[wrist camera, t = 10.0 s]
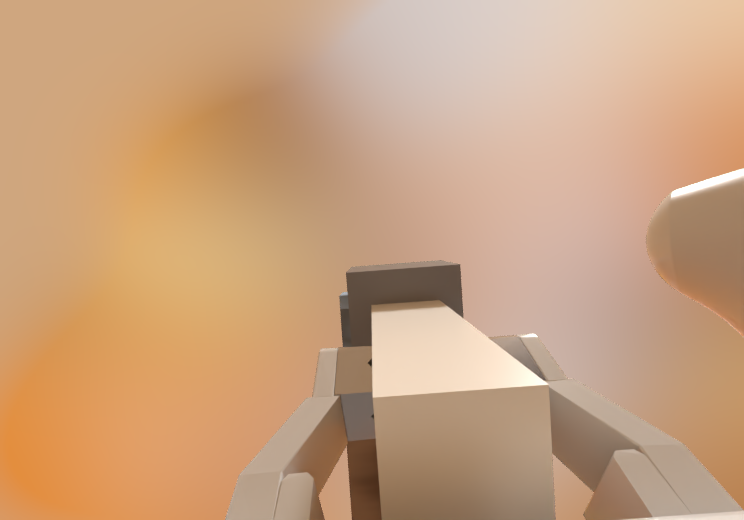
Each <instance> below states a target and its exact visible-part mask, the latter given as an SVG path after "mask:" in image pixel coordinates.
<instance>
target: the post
mask: <svg viewBox="0 0 744 520" xmlns="http://www.w3.org/2000/svg"><path fill="white" fill-rule="evenodd" d="M340 311H341V325H342V340H343V347H352V343H351V330H350V317H349V304H348V292H343V293H342V294H341V295H340ZM347 442H348V444H347V454H348V468H349V482H350V497H351V511H352V520H382V516H381V503H380V489H379V476H378V463H377V449H376V439H366V440H356V441H347Z"/></svg>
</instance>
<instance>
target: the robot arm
mask: <svg viewBox="0 0 744 520" xmlns="http://www.w3.org/2000/svg"><path fill="white" fill-rule="evenodd" d="M646 244H647V252H648V255H649V258H650V261H651V263H652V265H653V267H654V268H655V270H656V271H657V273H658V274H659V275H660V277H661V278H662V279H663V280H664V281H665V282H666V283H667V284H669V285H670V286H671V287H672V288H673V289H675V290H676V291H678V292H679V293H681V294H683V295H685V296H686V297H688V298H691V299H692V300H694V301H696V302H698V303H700V304H701V305H703V306H705V307H706V308H708V309H710V310H711V311H712V312H714V313H715V314H717V315H718V316H719V317H721V318H722V319H724V320H725V321H726V322H727V323H728V324H730V325H731V326H732V327H733V328H734V329H735V330H737V331H738V332H739V333H740V334H741V335H742V336H743V337H744V168H743V169H740V170H737V171H733V172H730V173H727V174H724V175H720V176H717V177H714V178H710V179H708V180H705V181H701V182H698V183H695V184H692V185H689V186H686V187H683V188H680V189H678V190H675V191H673V192H671V193H670V194H669V195H668V196H667V197H666V198H665V199H664V200H663V201H662V202H661V204H660V205H659V206H658V208H657V209H656V211H655V212H654V214H653V216H652V218H651V220H650V223H649V226H648V229H647V235H646ZM488 338H489V339H490V340H492V341H493V342H494V343H496V344H497V345H498V346H500V347H501V348H502V349H503V350H505V351H506V352H507V353H509V354H510V355H511V356H512V357H514V358H515V359H516V360H518V361H519V362H520V363H521V364H523V365H524V366H525V367H527V368H528V369H529V370H531V371H532V372H533V373H534V374H536V375H537V376H538V377H540V378H541V379H542V380H543V381H545V382H546V383H547V384H549V400H550V419H551V439H552V453H553V454H554V455H555V456H556V457H557V458H558V459H559V460H560V461H561V462H562V463H563V464H564V465H566V467H568V468H569V469H570V470H571V471H572V472H573V473H574V474H575V475H576V476H577V477H578V478H579V479H580V480H581V481H583V482H584V483H585V484H586V485H587V486H588V487H589V488H590V489H591V490H592V491H593V492H594V493H593V495H592V497H591V499H590V501H589V503H588V505H587V507H586V509H585V512H584V514H583V515H584V517H585V519H586V520H744V510H743V509H742V508H741V507H740V506H739V505H738V504H737V503H736V502H735V500H734V499H733V498H732V497H731V496H730V495H729V494H728V493H727V491H725V489H724V488H723V487H722V486H721V485H720V484H719V482H718V481H717V480H716V479H715V478H714V477H713V476H712V475H711V474H710V472H709V471H708V470H707V469H706V468H705V467H704V466H703V465H702V464H701V463H700V461H699V460H698V459H697V458H696V457H695V456H694V455H693V454H692V452H690V450H689V449H688V448H687V447H686V446H685V445H684V444H683V443H681V442H679V441H678V440H676V439H674V438H673V437H671V436H669V435H668V434H666V433H664V432H663V431H661V430H659V429H657V428H656V427H654V426H653V425H651V424H649V423H648V422H646V421H644V420H642V419H641V418H639V417H638V416H636V415H634V414H633V413H631V412H629V411H627V410H626V409H624V408H622V407H621V406H619V405H617V404H616V403H614V402H612V401H610V400H609V399H607V398H606V397H604V396H602V395H600V394H599V393H597V392H596V391H594V390H592V389H590V388H589V387H587V386H585V385H584V384H582V383H580V382H579V381H577V380H575V379H568V378H567V377H566V375H565V374H564V372H563V371H562V370H561V368H560V367H559V365H558V364H557V363H556V361H555V360H554V358H553V357H552V356H551V354H550V353H549V351H548V350H547V349H546V347H545V346H544V344H543V343H542V342H541V340H540V339H539V337H538V336H536V335H535V334H522V335H515V336H514V335H512V336H499V337H488ZM366 439H376V436H375V422H374V409H373V387H372V346H360V347H340V348H326V349H321V350H320V352H319V356H318V363H317V369H316V376H315V382H314V389H313V395H312V397H309V398H306V399H305V400H304V401H303V403H302V404H301V405H300V406H299V407H298V408H297V409H296V411H295V412H294V413H293V414H292V415H291V416H290V417H289V419H288V420H287V421H286V422H285V423H284V425H282V427H281V428H280V429H279V430H278V431H277V432H276V433H275V435H274V436H273V437H272V438H271V439H270V440H269V442H268V443H267V444H266V445H265V446H264V447H263V448H262V450H261V451H260V452H259V453H258V454H257V455H256V456H255V457H254V459H253V460H252V461H251V462H250V463H249V464H248V466H247V467H246V468H245V469H244V470H243V471H242V472H241V473H240V475H239V477H238V480H237V483H236V486H235V490H234V493H233V496H232V499H231V502H230V506H229V509H228V512H227V515H226V519H225V520H325V519H324V515H323V512H322V508H321V504H320V500H319V497H318V496H319V494H320V492H321V490H322V489H323V487H324V485H325V483H326V481H327V479H328V478H329V476H330V474H331V473H332V471H333V469H334V467H335V465H336V464H337V462H338V460H339V458H340V456H341V455H342V453H343V451H344V449H345V448H346V446H347V444H348V442H347V441H356V440H366Z"/></svg>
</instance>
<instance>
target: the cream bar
mask: <svg viewBox="0 0 744 520" xmlns="http://www.w3.org/2000/svg"><path fill="white" fill-rule="evenodd" d="M346 277H347V291H348V304H349V317H350V330H351V343H352V347H360V346H372V387H373V409H374V422H375V436H376V449H377V463H378V476H379V489H380V503H381V516H382V520H556V517H555V497H554V478H553V459H552V439H551V419H550V400H549V384H547V383H546V382H545V381H543V380H542V379H541V378H540V377H538V376H537V375H536V374H534V373H533V372H532V371H531V370H529V369H528V368H527V367H525V366H524V365H523V364H521V363H520V362H519V361H518V360H516V359H515V358H514V357H512V356H511V355H510V354H509V353H507V352H506V351H505V350H503V349H502V348H501V347H500V346H498V345H497V344H496V343H494V342H493V341H492V340H490V339H489V338H488V337H487V336H485V335H484V334H483V333H481V332H480V331H479V330H478V329H476V328H475V327H474V326H472V325H471V324H470V323H469V322H467V321H466V320H464V319H463V306H462V305H463V304H462V288H461V272H460V264H456V263H451V262H445V261H441V260H440V261H427V262H412V263H399V264H385V265H373V266H359V267H351V268H350V269H349V270H348V271H347V272H346Z"/></svg>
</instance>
